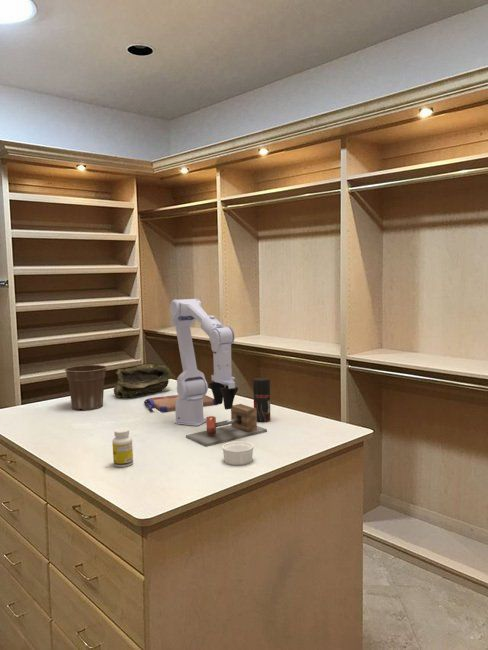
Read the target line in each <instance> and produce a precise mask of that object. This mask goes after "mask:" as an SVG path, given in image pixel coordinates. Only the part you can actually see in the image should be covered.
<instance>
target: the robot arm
mask: <svg viewBox="0 0 488 650" xmlns="http://www.w3.org/2000/svg"><path fill="white" fill-rule="evenodd" d="M202 306H203V304H202V301H200V299H199V298H196V297H194V298H188V299H187V298H186V299H185V298H183V299H172V300H171V302H170V306H169V314H170V319H171V324H173V325H174V326H175V332H176V337H177V343H178V350H179V355H180V362H181V367H182V372H181V373H180V374H179V375H178V376H177V378H176V392H177V395H179V396H180V397H179V398H178V399H177V401H176V405H175V409H176V411H175V422H174V424H177V425H186V426H195V427H199V426H200V425H202V424H204V423H206V418H204V407H203V398H204V397H205V395H206V396H207V393H208V391H209V388H210V390H211V392H212V395H213V399H214V400H215V403H216V404H218V405H222V404H223V407H224V410H231V409H232V405H234V400H235V397H236V395H237V393H238V390H239V387H237V386H236V382H235V381H234V380H236V377H234V376H233V375H232V374H233V373H232V371H233V370H232V344H234V342H235V337H236V336H235V332H234V330H233V328H232V327H231V326H225V325H223V324H222V323H221V322H220V321H219V320H218V319H217V318H216V316H215V315H208V314H207V312H206V311H205V310H204V309H203V307H202ZM196 321H197V322H199V323H200V329H201V330H202V331H203V332H204V333H205V334H206V335H207V336H208V338H209V343H210V345H211V351H212V352H213V356H212V357H213V374H211V375H210V376H211V382H209V383H208V382H207V380H206V377H205V374H204V372H202V371H201V370H199V369H198V365H197V360H196V353H195V347H194V344H193V343H194V342H193V337H192V332H191V325H192V324H194V323H195V322H196Z"/></svg>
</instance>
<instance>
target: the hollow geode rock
mask: <svg viewBox="0 0 488 650" xmlns="http://www.w3.org/2000/svg"><path fill="white" fill-rule="evenodd" d="M171 372H172V369H171V368H170V367H169V366H168V365H167V364H165V363H153V362H147V363H144V362H143V363H140V364H139V365H136V366H131V367H130V366H129V367H127V368H122V367H119V368H118V369H117V370H116V371H115V374H116V375H117V379H118V380H117V383H116V384H115V386H114V388H113V394H114V396H115V397H117V398H130V397H132V396H133V395H135V394H137V393H140V394H146V393H147V394H149V393H151V392H160V391H162V390H164V389H166V388H167V387H168V385H169V382H170V381H169V380H171V379H172V377H173V376H172V375H171V374H170V373H171Z"/></svg>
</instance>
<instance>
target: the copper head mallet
mask: <svg viewBox="0 0 488 650" xmlns="http://www.w3.org/2000/svg"><path fill="white" fill-rule="evenodd" d="M205 419H206V422H205V423H206V431H207V434H208V435H214V434H216V428H220V427H225V426H229V425H231V424H233V423H238V422H242V417H240V418H236V419H231V418H230V419H227V420H223V421H218V422H216V421H217V420H216V419H217V417H216V416H212V415H211V416H207V417H205Z"/></svg>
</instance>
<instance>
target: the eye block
mask: <svg viewBox="0 0 488 650" xmlns="http://www.w3.org/2000/svg"><path fill="white" fill-rule="evenodd" d="M230 416H231V417H230V420H231V419H236V418H240V417H242V422H238V423H233V424H228V425H224V426H219V427H216V434H214V435H208V434H207V430H202V431H198V432H195V433H194V432H193V433H190V434H189V433H188V434H186V435H185V438H186V439H187V440H191V442H192V441H193V442H194V443H196V444H199V445H201V446H203V447H209V446H210V447H211V446H214V445H218V444H222V443H223V444H224V443H228V442H232V441H236V440H238V439H242V438H247V437H251V436H256V435H260V434H263V433H268V429H267V428H264V427H261V426H258V422H257V409H256V408H254V407H251V406H249V405H246V404H242V403H237V404H233V405H232V409H230Z"/></svg>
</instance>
